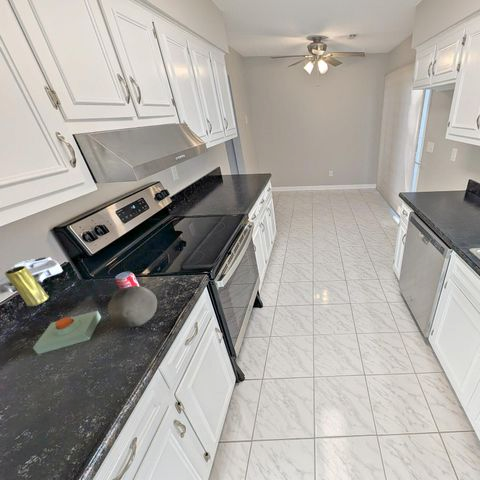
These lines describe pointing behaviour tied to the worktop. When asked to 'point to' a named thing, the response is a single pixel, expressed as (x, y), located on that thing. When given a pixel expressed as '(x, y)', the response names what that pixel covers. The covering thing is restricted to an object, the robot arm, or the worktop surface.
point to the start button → (63, 322)
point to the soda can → (126, 280)
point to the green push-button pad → (68, 333)
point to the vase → (26, 286)
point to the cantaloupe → (132, 306)
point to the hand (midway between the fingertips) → (26, 285)
